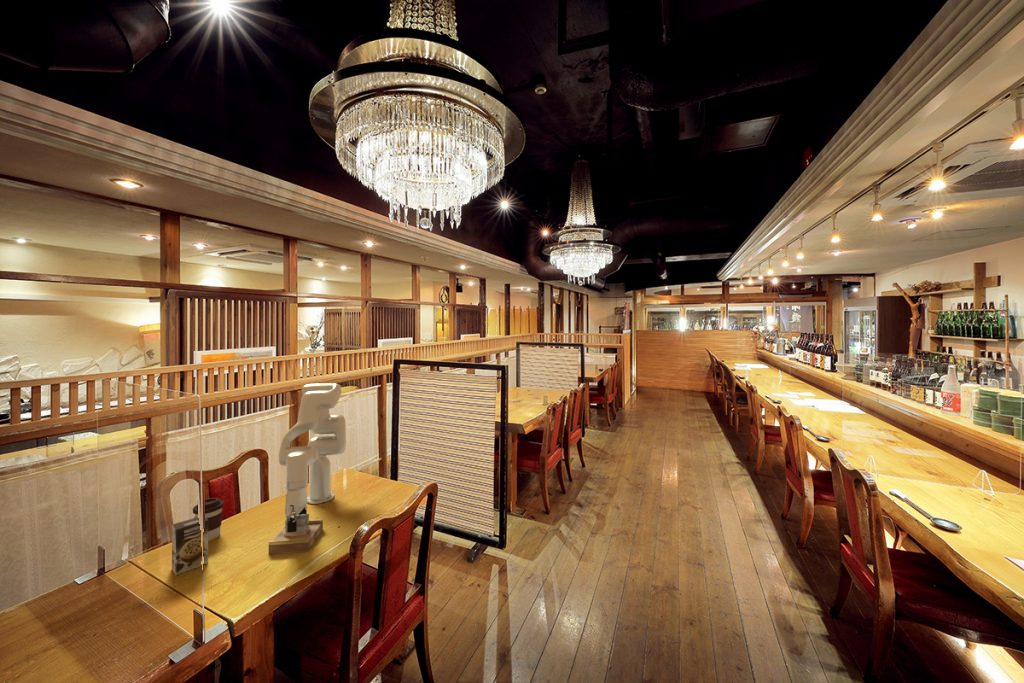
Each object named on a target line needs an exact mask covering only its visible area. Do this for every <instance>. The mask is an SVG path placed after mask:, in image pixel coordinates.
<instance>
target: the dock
mask: <svg viewBox="0 0 1024 683" xmlns="http://www.w3.org/2000/svg"><path fill="white" fill-rule="evenodd" d="M309 526H310V530H309V531H308V533H307V534H306V535H298V536H284V533H285V526H284V527H283V528H282V529H281V531H280V532H279V533H278V534H277V535H276V537H274V538H273V539H271V540H269V541H268V555H275V554H277V555H279V554H289V553H290V554H292V553H303V552H309V550H310V549H311V548H312V546H313V545H314V543H315V542H316V540H317V539H318V538H319V537H320V534H321V533H322V531H323V530H324V519H323V518H319V519H318V518H316V519H309Z"/></svg>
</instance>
